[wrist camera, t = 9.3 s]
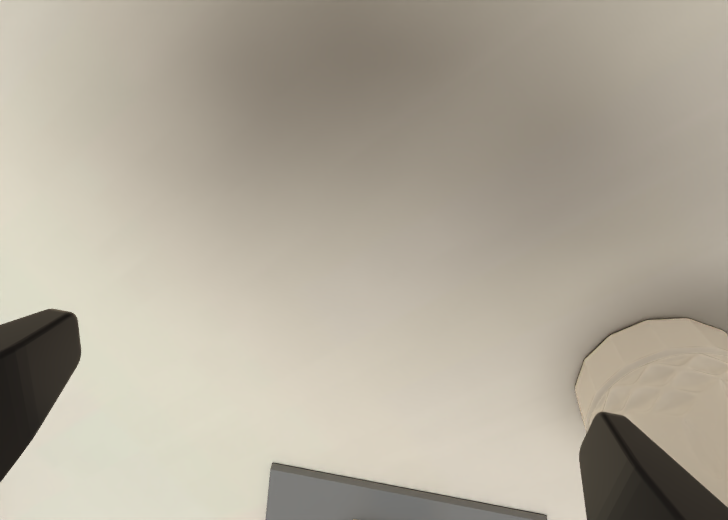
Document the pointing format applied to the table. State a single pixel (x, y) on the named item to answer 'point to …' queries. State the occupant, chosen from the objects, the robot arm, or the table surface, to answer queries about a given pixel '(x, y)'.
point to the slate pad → (367, 500)
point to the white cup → (666, 391)
